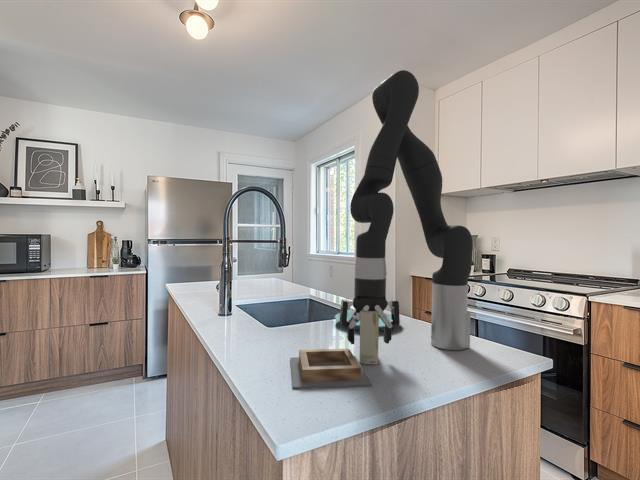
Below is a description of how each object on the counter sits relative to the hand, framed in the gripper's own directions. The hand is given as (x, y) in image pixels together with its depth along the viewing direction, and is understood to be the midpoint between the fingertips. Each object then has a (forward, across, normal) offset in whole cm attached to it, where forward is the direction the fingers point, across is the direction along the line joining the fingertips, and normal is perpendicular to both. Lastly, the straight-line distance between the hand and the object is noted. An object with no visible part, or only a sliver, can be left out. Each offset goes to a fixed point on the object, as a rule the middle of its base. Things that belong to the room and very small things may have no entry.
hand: (369, 342), depth 82 cm
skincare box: (+4, 0, 0) cm, 4 cm away
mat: (+4, +11, +6) cm, 13 cm away
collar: (+4, +11, +6) cm, 13 cm away
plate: (+5, -8, -32) cm, 33 cm away
